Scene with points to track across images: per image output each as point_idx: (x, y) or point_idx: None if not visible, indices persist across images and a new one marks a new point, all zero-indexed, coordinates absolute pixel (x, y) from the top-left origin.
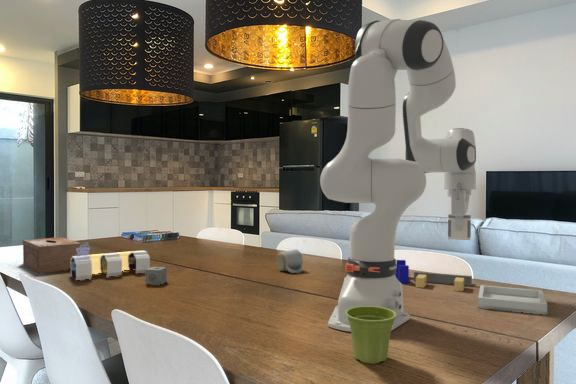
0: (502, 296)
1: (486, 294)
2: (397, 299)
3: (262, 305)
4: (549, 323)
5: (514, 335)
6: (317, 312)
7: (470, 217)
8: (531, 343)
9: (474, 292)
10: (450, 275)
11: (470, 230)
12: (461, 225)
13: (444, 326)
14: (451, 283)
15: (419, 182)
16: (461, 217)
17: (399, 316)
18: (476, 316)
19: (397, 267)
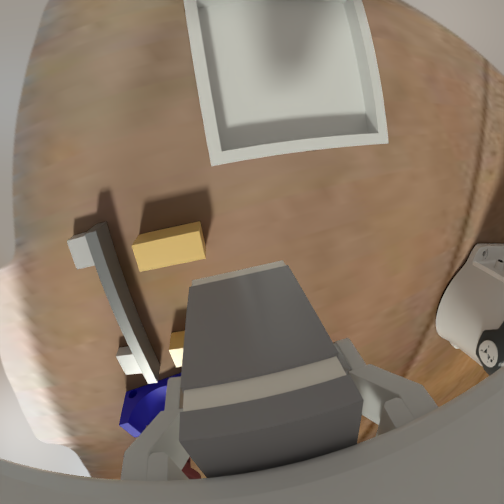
0: (239, 91)
1: (238, 139)
2: (500, 272)
3: (441, 404)
4: (402, 10)
5: (483, 83)
6: (462, 353)
7: (290, 397)
8: (494, 67)
9: (189, 187)
10: (118, 294)
11: (283, 297)
12: (365, 365)
13: (488, 186)
14: (124, 279)
15: None
16: (427, 404)
17: (489, 255)
18: (432, 139)
19: (148, 419)
